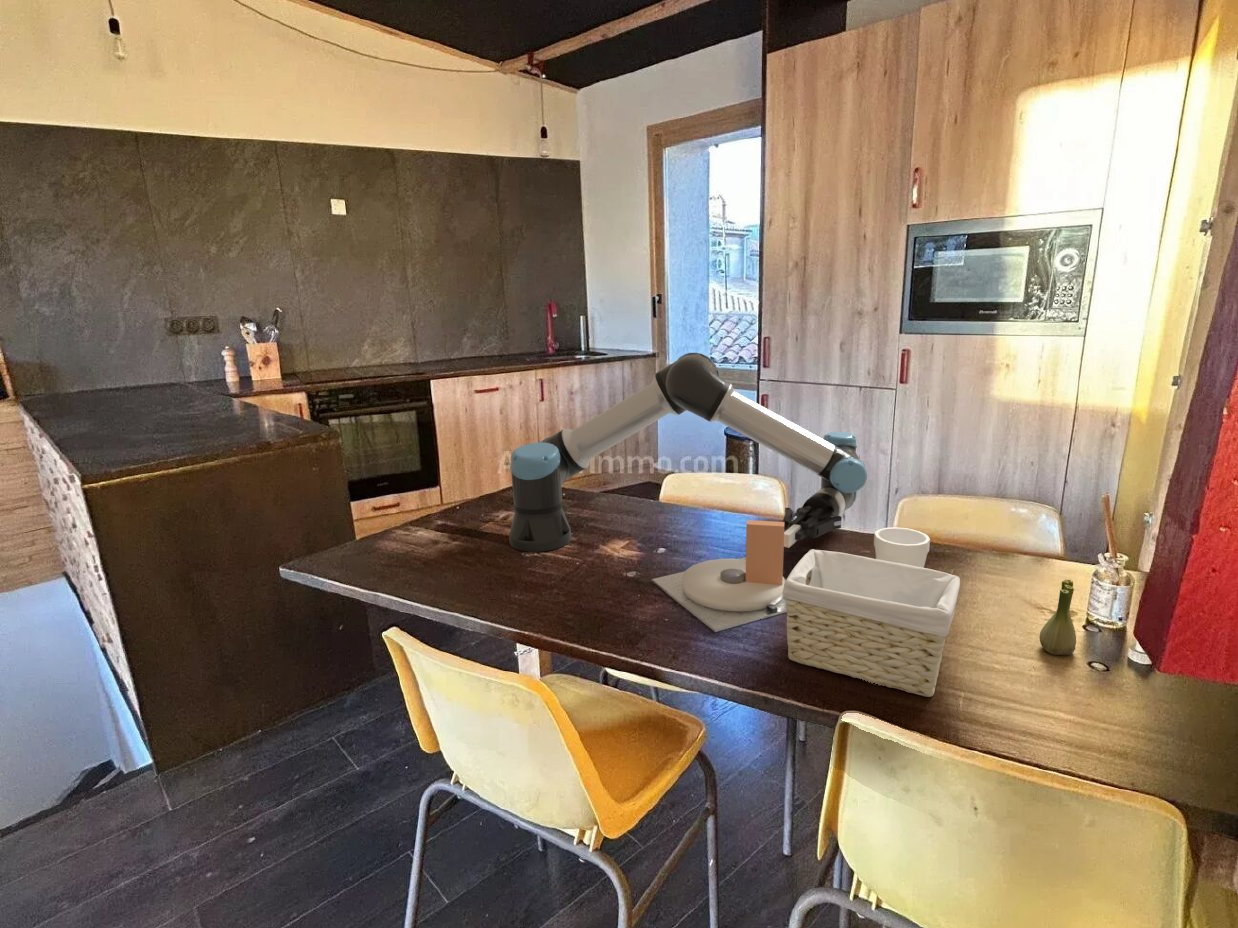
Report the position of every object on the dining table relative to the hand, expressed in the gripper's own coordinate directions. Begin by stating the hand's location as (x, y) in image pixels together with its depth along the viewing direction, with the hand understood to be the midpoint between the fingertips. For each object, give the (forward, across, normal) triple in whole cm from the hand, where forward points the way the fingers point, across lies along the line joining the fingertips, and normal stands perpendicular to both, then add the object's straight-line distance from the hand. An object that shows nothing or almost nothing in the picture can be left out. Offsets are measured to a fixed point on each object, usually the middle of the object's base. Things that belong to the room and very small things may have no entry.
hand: (785, 540), depth 132 cm
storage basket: (+21, -22, -9) cm, 32 cm away
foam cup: (-3, -21, -9) cm, 23 cm away
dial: (+10, +7, -9) cm, 15 cm away
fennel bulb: (+3, -47, -9) cm, 48 cm away
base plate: (+10, +7, -9) cm, 15 cm away
